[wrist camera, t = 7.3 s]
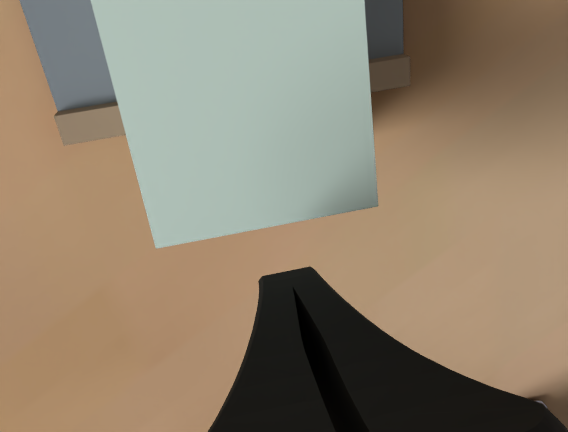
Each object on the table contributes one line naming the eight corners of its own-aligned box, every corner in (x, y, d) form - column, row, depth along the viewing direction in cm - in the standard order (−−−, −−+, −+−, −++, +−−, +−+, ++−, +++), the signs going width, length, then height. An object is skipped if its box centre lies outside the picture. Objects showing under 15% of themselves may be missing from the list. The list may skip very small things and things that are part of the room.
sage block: (378, 206, 14) (345, -284, 10) (156, 248, 13) (24, -253, 9) (332, 157, 18) (297, -188, 14) (166, 187, 18) (82, -164, 14)
